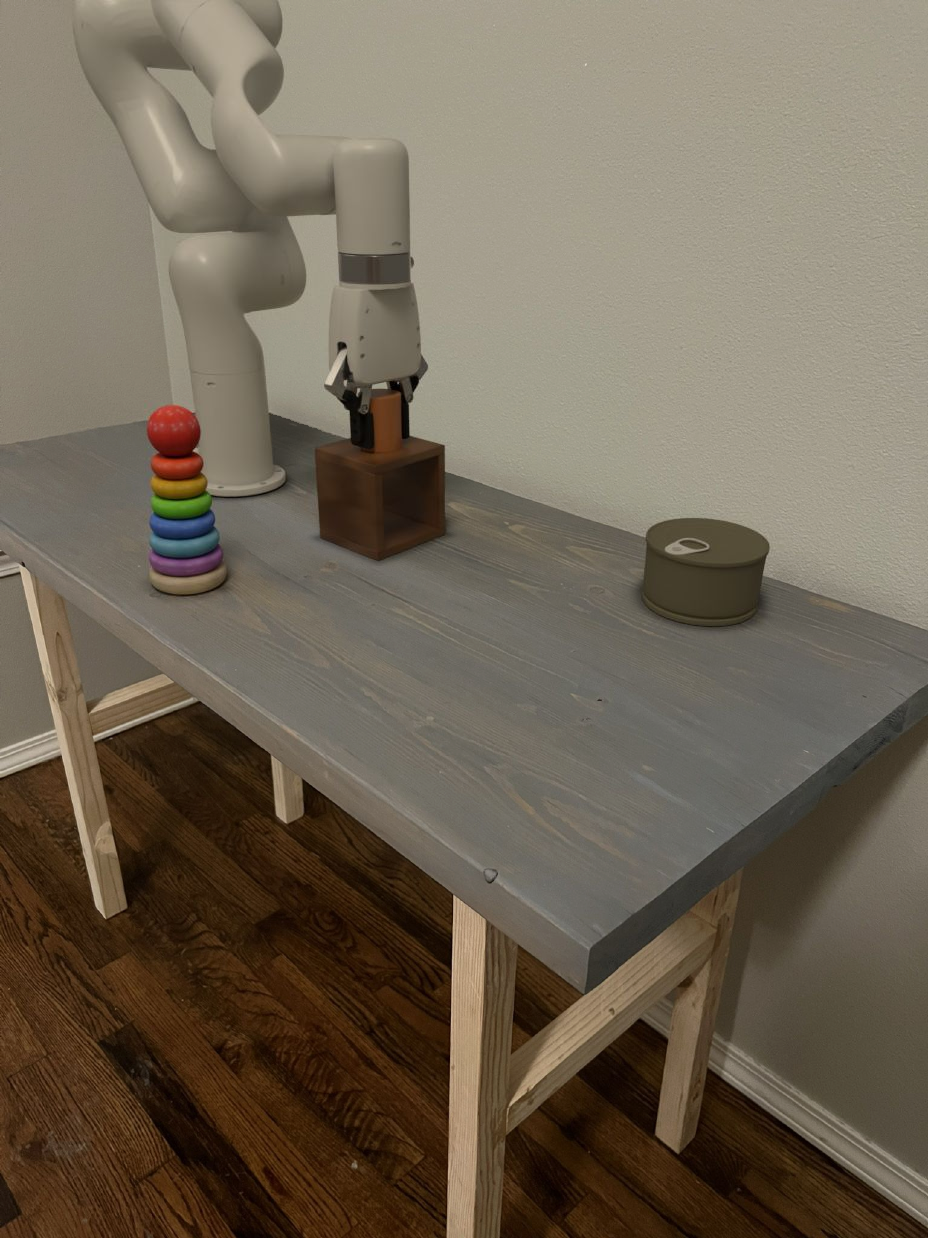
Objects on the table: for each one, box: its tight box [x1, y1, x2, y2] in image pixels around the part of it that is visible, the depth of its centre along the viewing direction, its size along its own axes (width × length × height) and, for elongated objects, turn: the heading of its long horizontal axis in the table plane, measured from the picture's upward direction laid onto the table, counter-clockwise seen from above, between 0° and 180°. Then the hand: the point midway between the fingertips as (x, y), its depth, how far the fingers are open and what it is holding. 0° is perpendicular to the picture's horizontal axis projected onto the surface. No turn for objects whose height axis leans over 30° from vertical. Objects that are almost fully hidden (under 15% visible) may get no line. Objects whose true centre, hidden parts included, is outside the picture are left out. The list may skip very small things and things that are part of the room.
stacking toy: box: [146, 404, 228, 595], centre depth 94 cm, size 8×8×19 cm
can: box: [641, 517, 770, 627], centre depth 94 cm, size 12×12×7 cm
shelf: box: [314, 435, 446, 562], centre depth 108 cm, size 10×11×11 cm
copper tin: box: [357, 388, 402, 452], centre depth 104 cm, size 5×5×6 cm
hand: (380, 439), depth 105 cm, fingers closed on copper tin, 4 cm apart
